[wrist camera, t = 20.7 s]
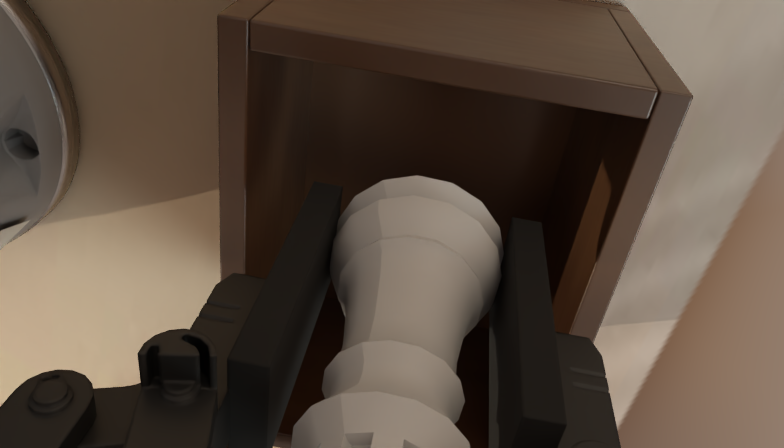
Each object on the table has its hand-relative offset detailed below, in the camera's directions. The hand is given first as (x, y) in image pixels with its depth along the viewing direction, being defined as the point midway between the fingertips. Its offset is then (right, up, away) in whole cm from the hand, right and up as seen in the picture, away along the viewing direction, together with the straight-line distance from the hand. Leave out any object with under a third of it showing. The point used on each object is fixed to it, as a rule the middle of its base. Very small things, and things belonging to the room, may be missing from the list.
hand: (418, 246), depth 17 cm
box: (+1, +3, +10) cm, 10 cm away
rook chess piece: (0, 0, 0) cm, 0 cm away
